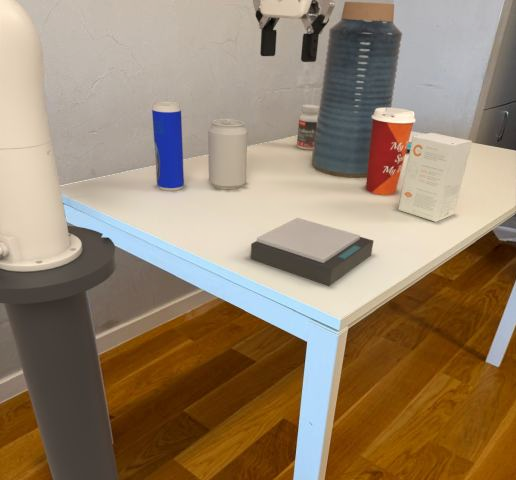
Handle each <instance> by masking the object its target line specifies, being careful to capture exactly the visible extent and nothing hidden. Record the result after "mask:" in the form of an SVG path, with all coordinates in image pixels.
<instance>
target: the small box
mask: <svg viewBox="0 0 516 480" xmlns="http://www.w3.org/2000/svg"><path fill="white" fill-rule="evenodd" d="M411 142H412V143H411V148H410V153H408V157H407V158H408V159H407V164H406V168H405V173H404V177H403V183H402V188H401V193H400V198H399V203H398V211H401V212H404V213H407V214H410V215H413V216H416V217H420V218H423V219H425V220H428V221H432V222H435V223H437V222H439V221H441V220H444V219H446V218H449V217H451V216H453V215H454V213H455V209H456V206H457V203H458V197H459V193H460V190H461V186H462V182H463V178H464V175H465V171H466V167H467V164H468V163H467V162H468V161H469V160H468V159H469V155H470V152H471V148H472V144H473V140H469V139H465V138H459V137H455V136H450V135H445V134H440V133H435V132H428V133H423V134H417V135H413V136H412V138H411Z"/></svg>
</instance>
